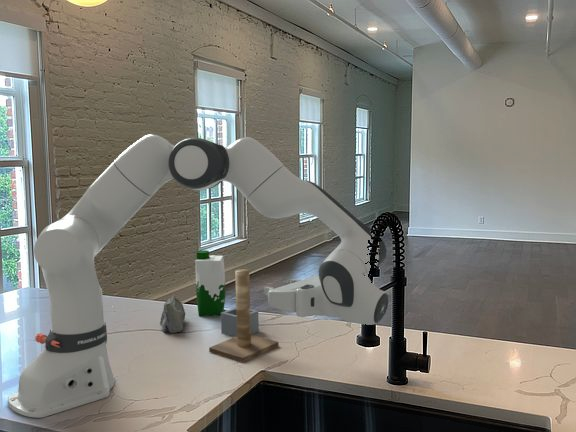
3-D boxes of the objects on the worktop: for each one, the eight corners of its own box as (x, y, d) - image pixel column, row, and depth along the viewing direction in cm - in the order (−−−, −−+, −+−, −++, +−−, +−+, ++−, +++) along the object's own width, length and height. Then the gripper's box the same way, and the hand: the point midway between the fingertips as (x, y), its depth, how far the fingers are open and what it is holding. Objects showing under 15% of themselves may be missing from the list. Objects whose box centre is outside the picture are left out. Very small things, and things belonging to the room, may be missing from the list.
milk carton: (200, 308, 188) (197, 248, 185) (227, 308, 188) (225, 248, 185) (195, 317, 179) (192, 254, 176) (223, 316, 179) (221, 254, 176)
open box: (240, 338, 160) (240, 317, 159) (221, 333, 164) (220, 312, 164) (258, 331, 166) (258, 310, 165) (239, 325, 170) (239, 306, 169)
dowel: (244, 348, 149) (242, 273, 146) (234, 345, 151) (232, 271, 149) (253, 344, 152) (251, 270, 149) (243, 341, 154) (241, 268, 151)
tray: (242, 362, 143) (242, 357, 143) (209, 351, 150) (209, 347, 150) (278, 346, 154) (278, 341, 153) (245, 336, 161) (245, 332, 161)
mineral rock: (176, 317, 179) (175, 286, 178) (204, 322, 174) (203, 290, 173) (147, 330, 168) (146, 297, 166) (176, 336, 163) (175, 301, 161)
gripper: (347, 274, 142) (303, 266, 151) (297, 291, 126) (250, 281, 135) (347, 299, 143) (303, 290, 152) (297, 319, 127) (250, 307, 136)
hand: (278, 286), depth 143 cm, fingers open, 8 cm apart
